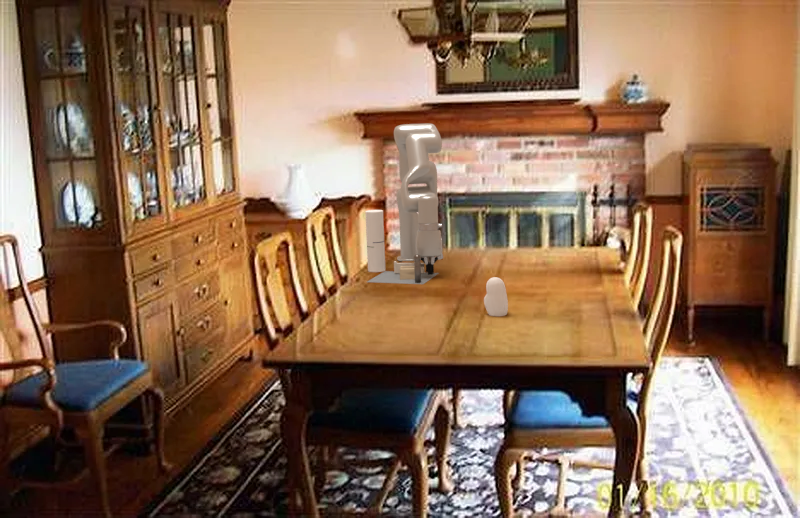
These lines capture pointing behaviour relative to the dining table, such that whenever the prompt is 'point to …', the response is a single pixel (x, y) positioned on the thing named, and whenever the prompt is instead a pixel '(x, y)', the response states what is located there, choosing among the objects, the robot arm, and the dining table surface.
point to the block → (407, 272)
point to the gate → (398, 265)
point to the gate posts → (419, 268)
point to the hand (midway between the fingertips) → (430, 273)
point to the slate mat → (395, 278)
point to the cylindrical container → (375, 240)
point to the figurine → (496, 297)
